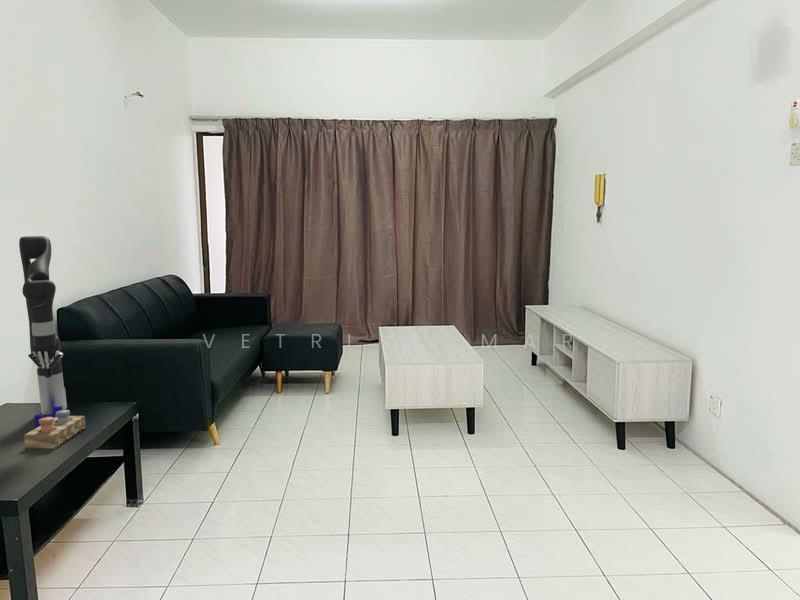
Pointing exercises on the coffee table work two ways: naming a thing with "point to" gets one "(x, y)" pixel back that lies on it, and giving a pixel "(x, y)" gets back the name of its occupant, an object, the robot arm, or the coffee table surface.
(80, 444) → the coffee table surface
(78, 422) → the oak board
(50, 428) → the terracotta plunger
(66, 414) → the grey plunger
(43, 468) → the coffee table surface
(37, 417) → the cable clip
